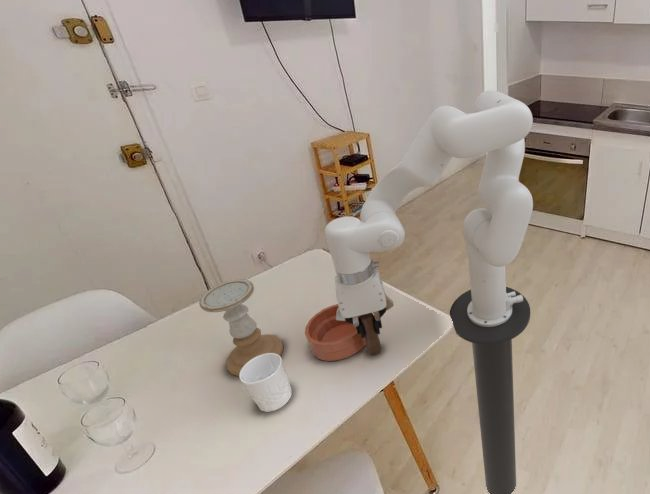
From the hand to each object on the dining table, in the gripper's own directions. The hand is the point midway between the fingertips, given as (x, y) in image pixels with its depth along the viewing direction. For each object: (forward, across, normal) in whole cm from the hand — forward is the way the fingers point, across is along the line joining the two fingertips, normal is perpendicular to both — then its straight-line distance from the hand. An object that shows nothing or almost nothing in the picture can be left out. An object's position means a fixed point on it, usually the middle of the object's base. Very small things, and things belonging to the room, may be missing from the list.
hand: (370, 331), depth 98 cm
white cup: (+7, +22, +6) cm, 24 cm away
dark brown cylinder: (+7, 0, 0) cm, 7 cm away
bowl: (+7, +8, -7) cm, 12 cm away
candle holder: (+7, +28, -9) cm, 30 cm away
